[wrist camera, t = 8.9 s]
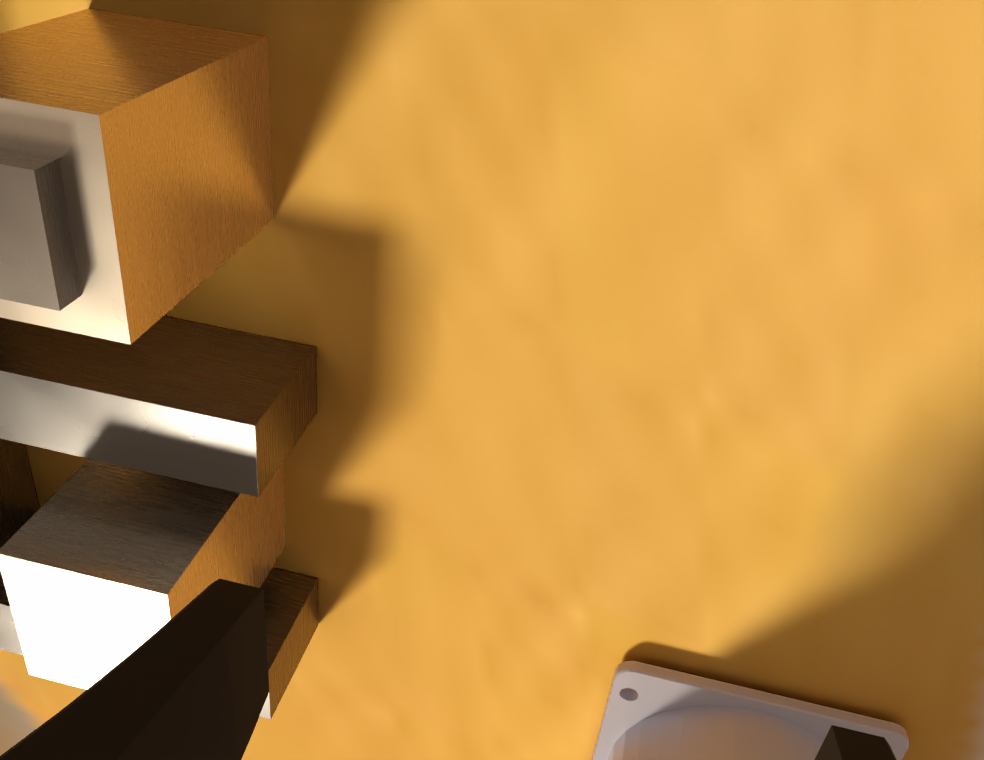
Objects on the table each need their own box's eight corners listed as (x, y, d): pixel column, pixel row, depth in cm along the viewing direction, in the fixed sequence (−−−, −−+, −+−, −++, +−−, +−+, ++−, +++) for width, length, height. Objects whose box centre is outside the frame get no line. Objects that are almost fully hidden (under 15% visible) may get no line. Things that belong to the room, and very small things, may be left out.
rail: (318, 624, 27) (270, 719, 24) (8, 549, 29) (-72, 630, 26) (312, -244, 15) (218, -260, 13) (-216, -306, 17) (-412, -334, 14)
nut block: (274, 218, 20) (111, 361, 15) (113, 188, 21) (-101, 316, 15) (267, 37, 18) (74, 126, 13) (89, 8, 19) (-171, 82, 13)
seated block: (285, 544, 26) (183, 714, 21) (158, 515, 26) (28, 674, 21) (282, 434, 24) (167, 595, 19) (143, 404, 24) (-5, 552, 19)
